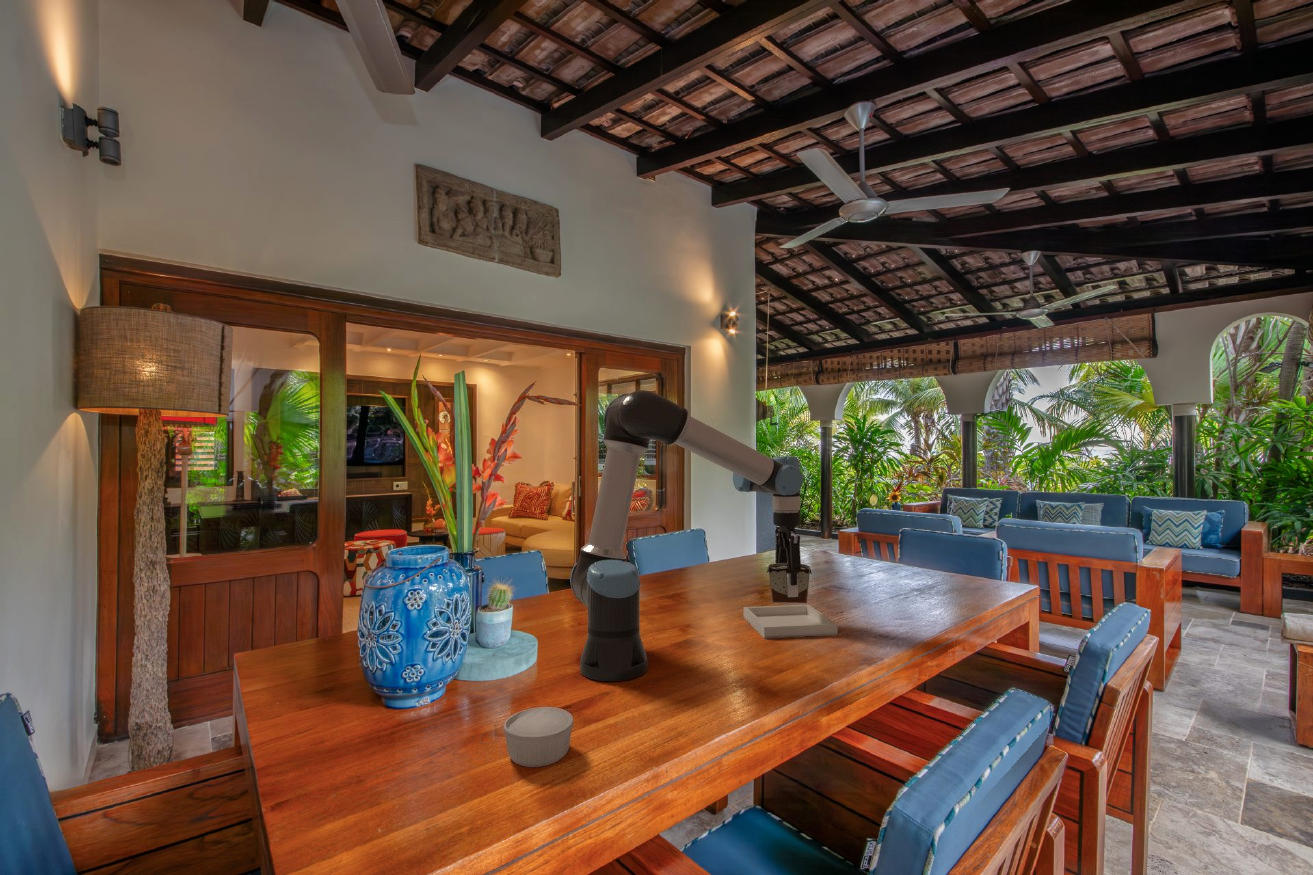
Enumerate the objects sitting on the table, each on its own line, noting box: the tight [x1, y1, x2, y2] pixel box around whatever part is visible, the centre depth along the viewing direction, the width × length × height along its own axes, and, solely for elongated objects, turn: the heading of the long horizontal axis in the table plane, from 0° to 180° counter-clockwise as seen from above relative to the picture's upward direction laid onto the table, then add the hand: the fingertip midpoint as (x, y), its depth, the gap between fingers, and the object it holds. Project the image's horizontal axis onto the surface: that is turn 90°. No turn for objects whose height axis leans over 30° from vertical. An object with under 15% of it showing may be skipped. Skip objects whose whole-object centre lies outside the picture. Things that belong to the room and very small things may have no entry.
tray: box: [743, 604, 839, 640], centre depth 164 cm, size 20×20×3 cm
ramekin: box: [503, 706, 574, 768], centre depth 95 cm, size 11×11×5 cm
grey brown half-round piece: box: [766, 562, 813, 604], centre depth 164 cm, size 12×6×10 cm, turn 84°
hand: (788, 593), depth 164 cm, fingers closed on grey brown half-round piece, 7 cm apart
